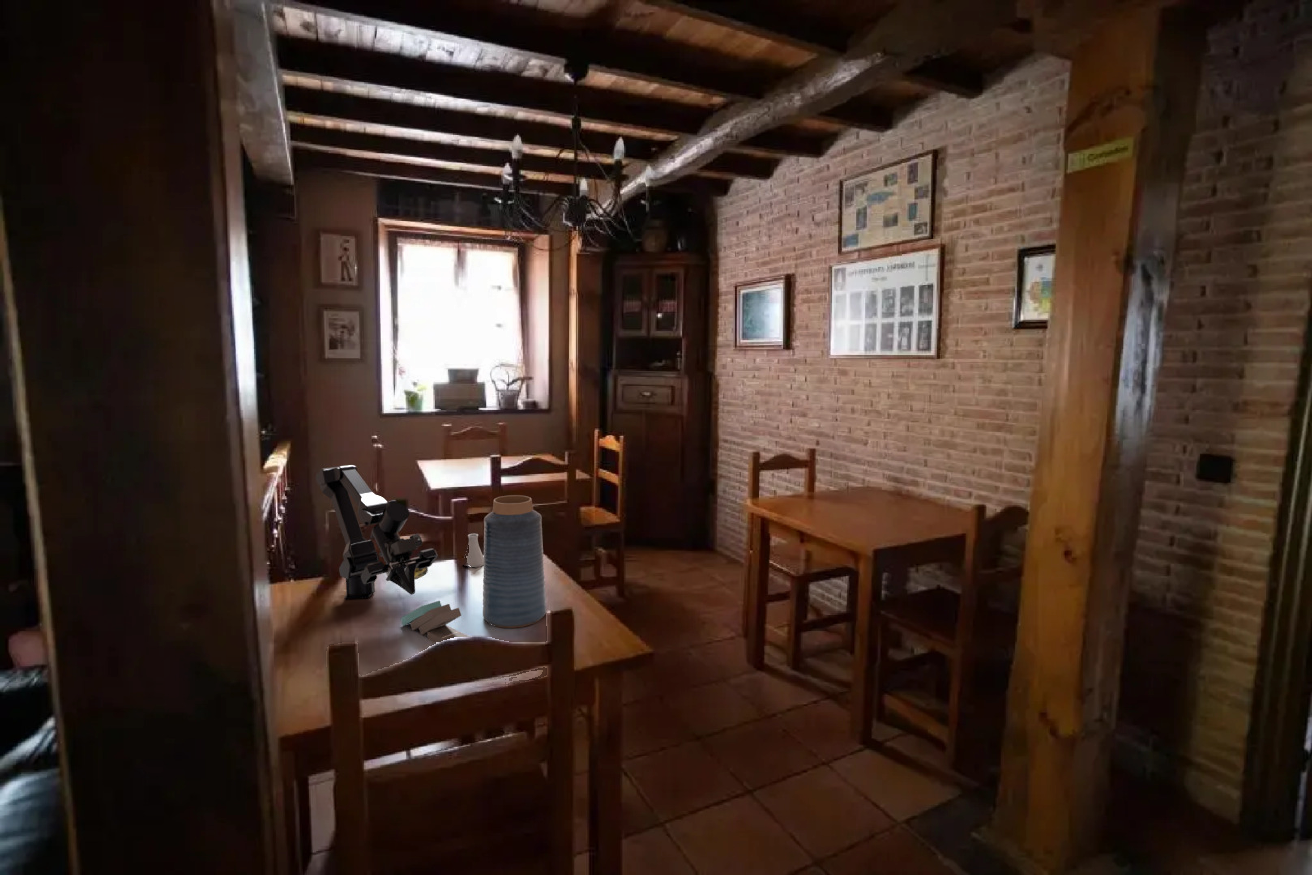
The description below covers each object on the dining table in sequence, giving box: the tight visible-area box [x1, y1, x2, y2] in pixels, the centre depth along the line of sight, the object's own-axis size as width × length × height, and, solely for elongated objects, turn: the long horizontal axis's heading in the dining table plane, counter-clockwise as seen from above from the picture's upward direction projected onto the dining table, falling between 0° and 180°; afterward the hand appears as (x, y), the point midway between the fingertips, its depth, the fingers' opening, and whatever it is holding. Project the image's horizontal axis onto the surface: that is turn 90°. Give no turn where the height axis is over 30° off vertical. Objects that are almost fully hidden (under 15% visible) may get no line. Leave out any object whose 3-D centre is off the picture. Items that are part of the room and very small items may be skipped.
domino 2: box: [418, 607, 462, 636], centre depth 159 cm, size 2×5×12 cm
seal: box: [414, 567, 429, 580], centre depth 205 cm, size 9×5×15 cm
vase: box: [482, 494, 547, 629], centre depth 170 cm, size 16×16×32 cm
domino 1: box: [409, 603, 452, 631], centre depth 161 cm, size 2×5×12 cm
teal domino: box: [400, 600, 442, 627], centre depth 164 cm, size 2×5×12 cm
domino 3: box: [426, 624, 470, 644], centre depth 156 cm, size 2×5×12 cm
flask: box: [466, 533, 484, 569], centre depth 212 cm, size 7×7×10 cm
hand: (413, 593), depth 166 cm, fingers closed
